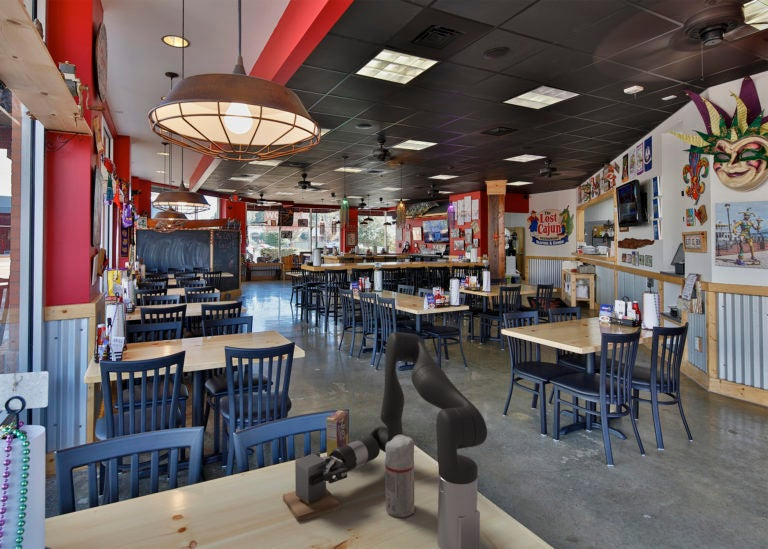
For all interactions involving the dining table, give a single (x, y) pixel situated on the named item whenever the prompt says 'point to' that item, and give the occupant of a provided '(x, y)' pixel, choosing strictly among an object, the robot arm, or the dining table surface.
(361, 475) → the dining table surface
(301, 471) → the brushed steel block
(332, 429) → the candy box
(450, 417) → the robot arm
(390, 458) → the white spray can
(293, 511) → the wooden square base
